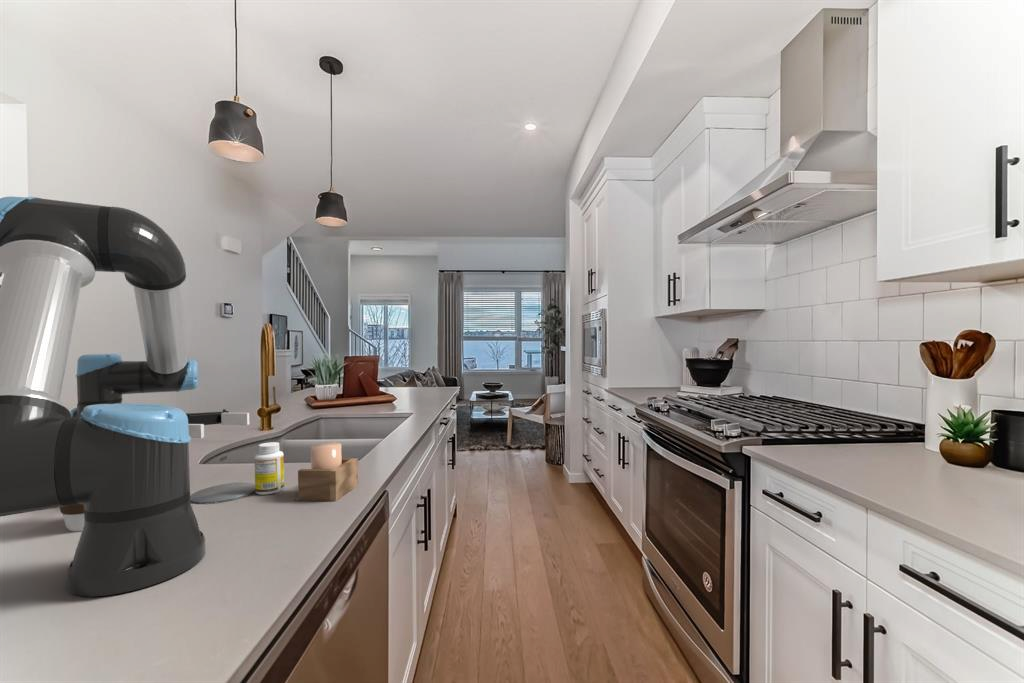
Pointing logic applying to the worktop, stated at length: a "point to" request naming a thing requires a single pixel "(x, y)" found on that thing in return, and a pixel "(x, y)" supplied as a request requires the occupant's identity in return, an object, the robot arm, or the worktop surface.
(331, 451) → the peach cylinder
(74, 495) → the robot arm
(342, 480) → the wooden base
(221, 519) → the worktop surface
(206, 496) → the slate coaster
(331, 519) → the worktop surface
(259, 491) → the supplement bottle
